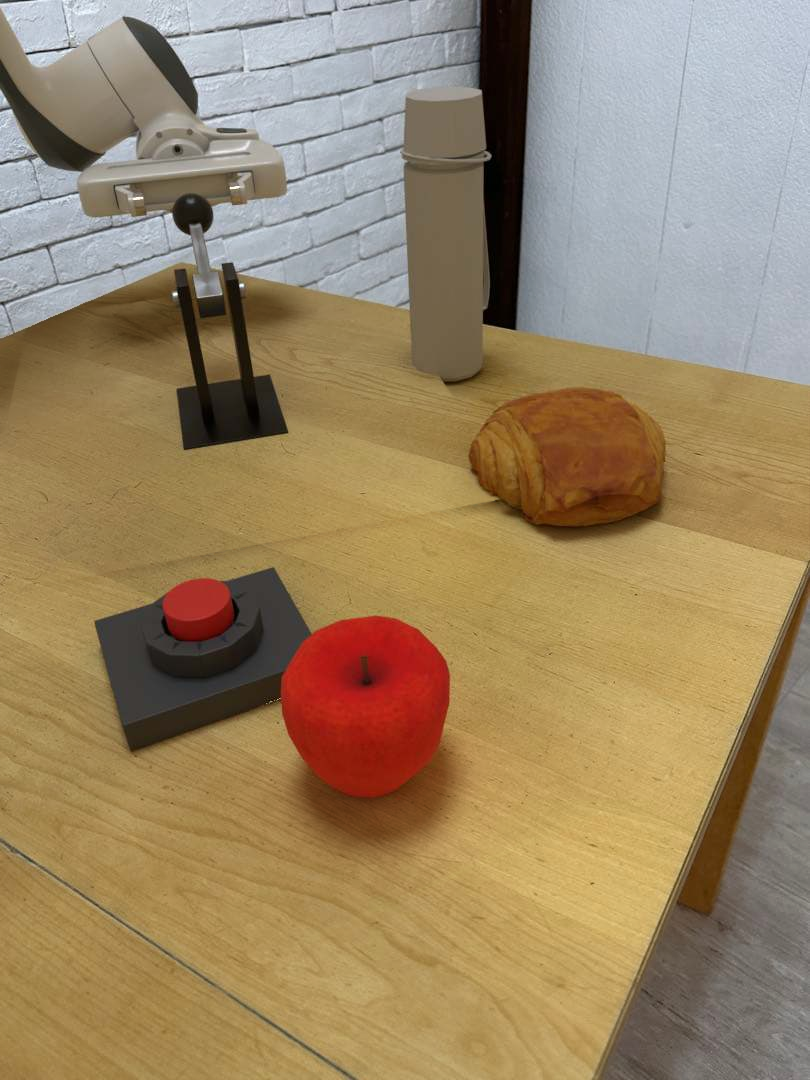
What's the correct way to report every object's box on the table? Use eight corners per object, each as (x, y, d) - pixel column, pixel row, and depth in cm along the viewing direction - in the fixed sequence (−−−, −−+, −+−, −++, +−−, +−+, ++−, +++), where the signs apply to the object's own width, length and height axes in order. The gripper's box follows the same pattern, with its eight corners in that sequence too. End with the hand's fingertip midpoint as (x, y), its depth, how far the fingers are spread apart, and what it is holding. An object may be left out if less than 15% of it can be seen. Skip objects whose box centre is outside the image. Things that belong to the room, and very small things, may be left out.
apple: (473, 813, 47) (472, 707, 42) (304, 849, 46) (284, 743, 41) (432, 692, 54) (428, 590, 49) (285, 720, 53) (267, 618, 48)
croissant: (466, 469, 78) (452, 386, 74) (644, 431, 78) (640, 345, 73) (494, 565, 67) (479, 473, 62) (704, 522, 66) (703, 425, 61)
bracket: (178, 400, 87) (148, 258, 79) (271, 386, 89) (251, 245, 81) (186, 461, 78) (152, 306, 70) (290, 443, 79) (268, 291, 71)
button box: (130, 752, 51) (114, 702, 49) (102, 646, 59) (86, 598, 56) (329, 683, 55) (322, 634, 53) (277, 591, 62) (270, 544, 60)
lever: (173, 219, 83) (166, 186, 80) (212, 214, 84) (207, 182, 81) (192, 325, 77) (186, 293, 74) (235, 319, 77) (231, 288, 74)
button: (176, 651, 53) (170, 628, 52) (161, 611, 56) (155, 589, 55) (242, 630, 54) (238, 607, 53) (224, 592, 57) (220, 570, 56)
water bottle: (448, 394, 86) (442, 106, 71) (394, 369, 90) (378, 95, 76) (515, 364, 90) (522, 87, 76) (460, 342, 95) (457, 79, 81)
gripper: (71, 146, 92) (65, 178, 81) (270, 127, 96) (290, 155, 85) (86, 210, 96) (82, 249, 85) (278, 188, 100) (298, 223, 89)
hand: (188, 202), depth 85 cm, fingers open, 8 cm apart
